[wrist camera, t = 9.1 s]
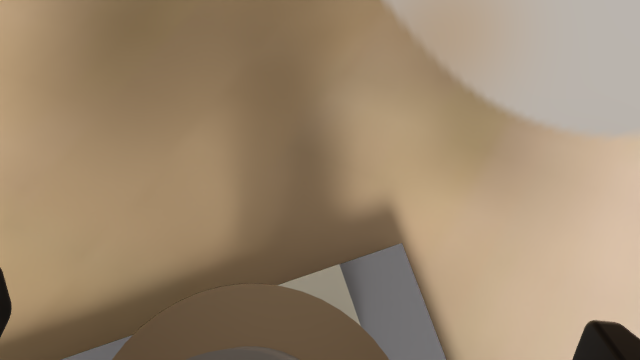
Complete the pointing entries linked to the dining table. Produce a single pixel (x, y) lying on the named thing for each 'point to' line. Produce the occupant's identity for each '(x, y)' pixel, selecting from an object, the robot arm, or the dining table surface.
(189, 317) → the tan cylinder
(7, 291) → the robot arm
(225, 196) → the dining table surface
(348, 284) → the subfloor board
